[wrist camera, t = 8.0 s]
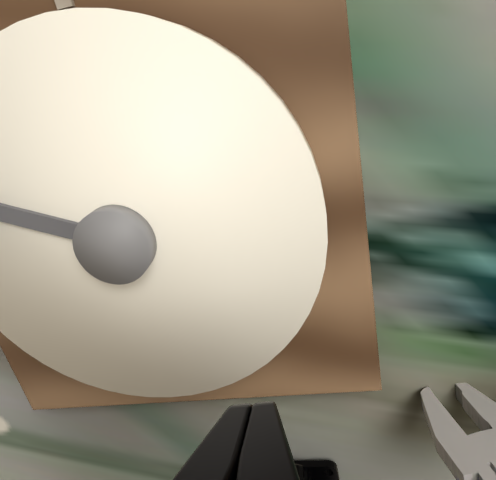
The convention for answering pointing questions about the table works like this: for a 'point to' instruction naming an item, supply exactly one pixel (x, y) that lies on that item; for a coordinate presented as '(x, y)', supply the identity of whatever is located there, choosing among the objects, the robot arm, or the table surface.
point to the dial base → (332, 178)
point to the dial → (150, 205)
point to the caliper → (455, 439)
